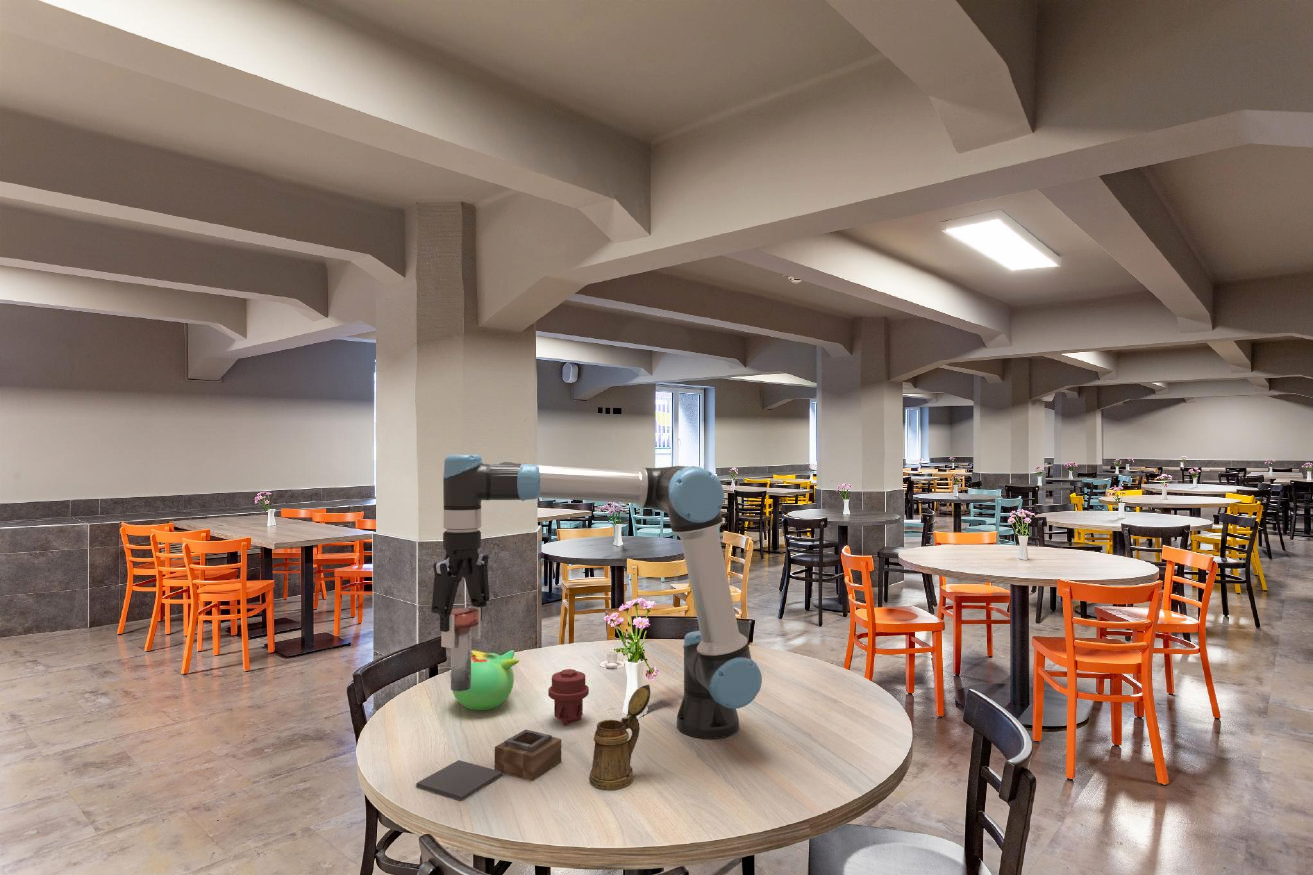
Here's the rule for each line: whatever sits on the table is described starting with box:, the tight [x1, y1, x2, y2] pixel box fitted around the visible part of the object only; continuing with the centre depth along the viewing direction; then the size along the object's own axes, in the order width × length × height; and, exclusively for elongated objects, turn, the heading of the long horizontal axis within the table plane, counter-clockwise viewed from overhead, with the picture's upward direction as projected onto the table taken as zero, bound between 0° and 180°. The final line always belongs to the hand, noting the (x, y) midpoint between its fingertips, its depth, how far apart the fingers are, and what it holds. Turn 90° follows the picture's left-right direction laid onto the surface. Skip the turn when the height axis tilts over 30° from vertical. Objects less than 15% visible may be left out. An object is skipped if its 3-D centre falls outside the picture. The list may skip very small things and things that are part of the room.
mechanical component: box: [547, 668, 590, 727], centre depth 179 cm, size 12×10×10 cm
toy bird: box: [452, 649, 520, 711], centre depth 189 cm, size 18×17×15 cm
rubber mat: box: [415, 759, 504, 802], centre depth 146 cm, size 12×12×1 cm
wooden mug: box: [588, 684, 651, 791], centre depth 149 cm, size 9×14×18 cm, turn 120°
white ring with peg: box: [599, 650, 625, 669], centre depth 225 cm, size 9×8×4 cm
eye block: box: [493, 729, 562, 782], centre depth 153 cm, size 10×10×6 cm
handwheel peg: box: [450, 607, 479, 692], centre depth 147 cm, size 7×7×16 cm
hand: (461, 642), depth 147 cm, fingers closed on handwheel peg, 7 cm apart
